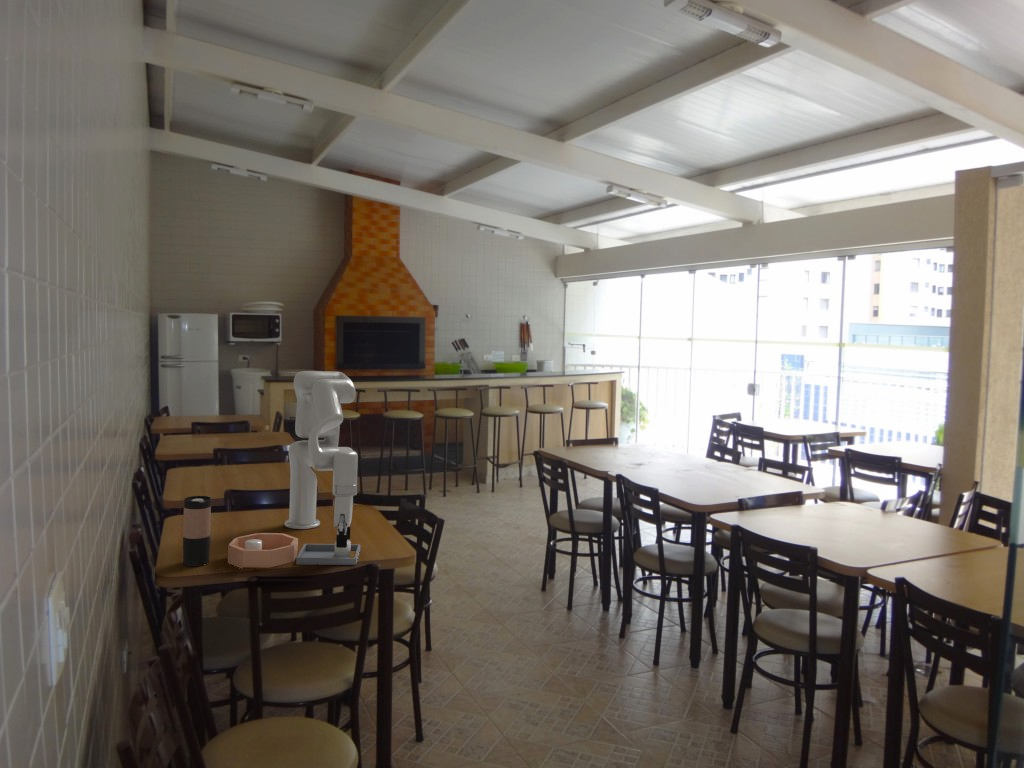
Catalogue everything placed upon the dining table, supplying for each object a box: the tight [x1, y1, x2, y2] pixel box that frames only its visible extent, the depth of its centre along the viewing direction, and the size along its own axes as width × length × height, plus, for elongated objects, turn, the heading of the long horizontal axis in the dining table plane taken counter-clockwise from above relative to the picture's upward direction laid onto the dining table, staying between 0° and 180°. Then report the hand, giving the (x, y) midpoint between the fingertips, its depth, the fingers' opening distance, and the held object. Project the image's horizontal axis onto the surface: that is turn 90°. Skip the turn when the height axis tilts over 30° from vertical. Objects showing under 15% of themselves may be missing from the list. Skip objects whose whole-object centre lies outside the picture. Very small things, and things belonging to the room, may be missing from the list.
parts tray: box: [295, 543, 361, 566], centre depth 229 cm, size 15×18×3 cm
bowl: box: [227, 532, 299, 570], centre depth 225 cm, size 20×20×6 cm
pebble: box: [334, 539, 352, 558], centre depth 229 cm, size 5×5×5 cm
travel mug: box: [182, 495, 212, 567], centre depth 218 cm, size 8×8×20 cm
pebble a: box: [245, 539, 262, 550], centre depth 225 cm, size 5×5×5 cm
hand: (343, 543), depth 228 cm, fingers open, 9 cm apart
